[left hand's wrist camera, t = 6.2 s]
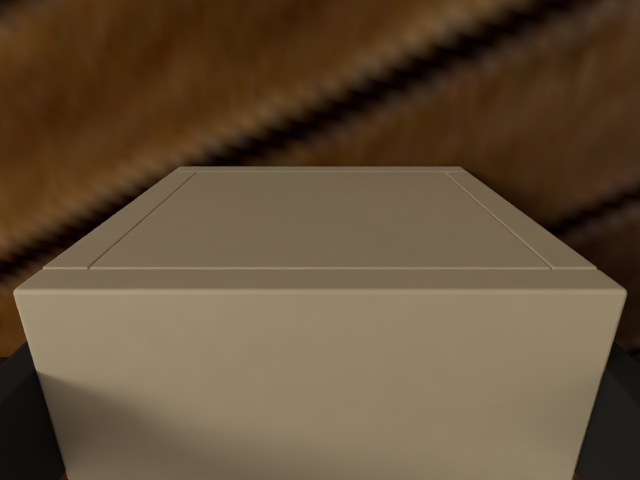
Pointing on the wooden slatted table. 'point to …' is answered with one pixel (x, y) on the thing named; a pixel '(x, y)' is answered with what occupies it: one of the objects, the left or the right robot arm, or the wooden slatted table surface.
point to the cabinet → (320, 332)
